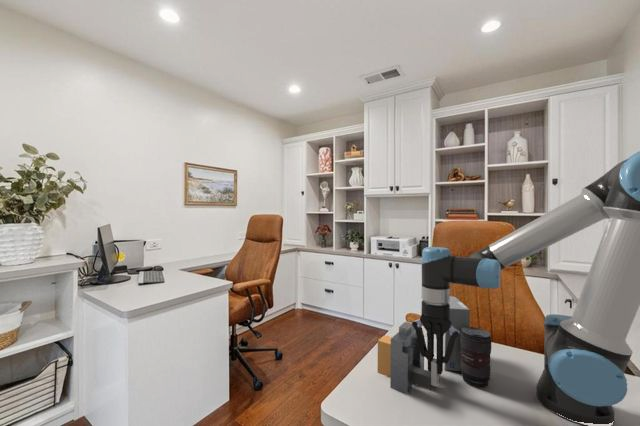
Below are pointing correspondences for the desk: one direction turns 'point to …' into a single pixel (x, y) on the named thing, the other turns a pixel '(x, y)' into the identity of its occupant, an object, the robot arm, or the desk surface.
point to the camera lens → (475, 356)
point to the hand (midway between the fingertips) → (435, 383)
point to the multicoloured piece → (384, 364)
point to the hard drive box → (458, 320)
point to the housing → (404, 358)
